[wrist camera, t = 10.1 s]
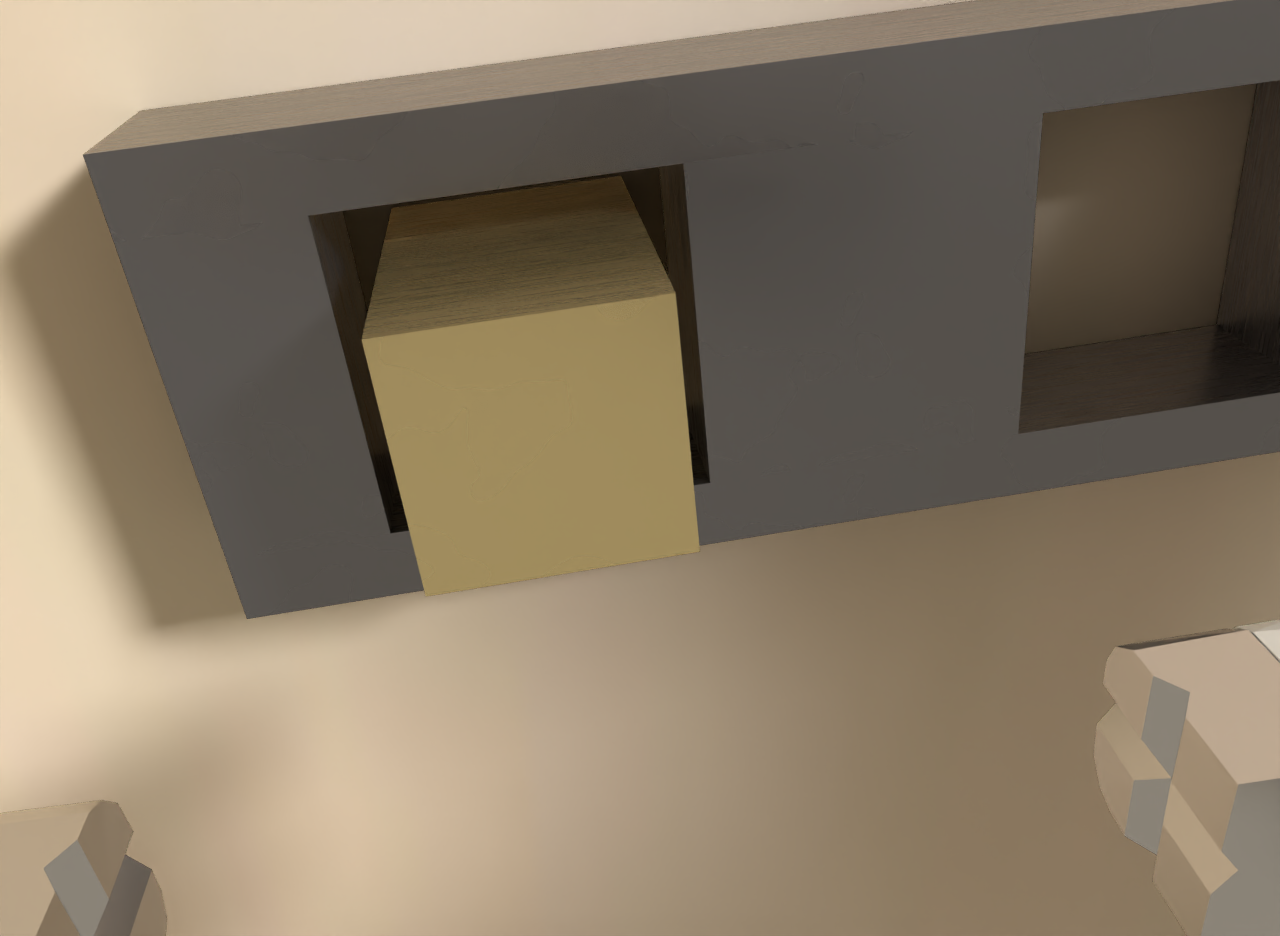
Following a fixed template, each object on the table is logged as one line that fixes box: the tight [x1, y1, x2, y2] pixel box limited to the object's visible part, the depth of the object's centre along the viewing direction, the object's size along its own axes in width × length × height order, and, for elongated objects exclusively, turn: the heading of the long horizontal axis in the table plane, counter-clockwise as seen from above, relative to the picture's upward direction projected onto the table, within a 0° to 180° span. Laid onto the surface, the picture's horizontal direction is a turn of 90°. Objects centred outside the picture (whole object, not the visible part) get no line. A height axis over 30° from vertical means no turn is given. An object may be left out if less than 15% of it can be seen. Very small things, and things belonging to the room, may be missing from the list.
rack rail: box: [83, 0, 1280, 619], centre depth 19 cm, size 22×8×3 cm, turn 97°
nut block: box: [362, 176, 700, 596], centre depth 17 cm, size 4×4×6 cm
